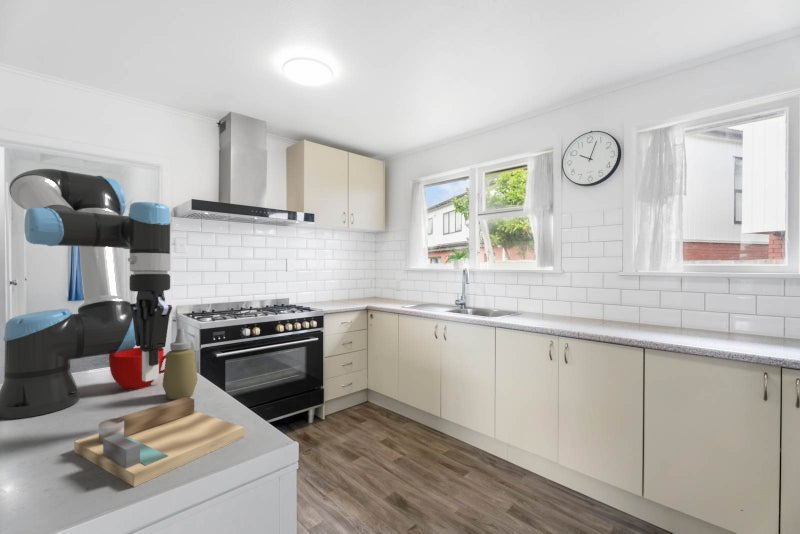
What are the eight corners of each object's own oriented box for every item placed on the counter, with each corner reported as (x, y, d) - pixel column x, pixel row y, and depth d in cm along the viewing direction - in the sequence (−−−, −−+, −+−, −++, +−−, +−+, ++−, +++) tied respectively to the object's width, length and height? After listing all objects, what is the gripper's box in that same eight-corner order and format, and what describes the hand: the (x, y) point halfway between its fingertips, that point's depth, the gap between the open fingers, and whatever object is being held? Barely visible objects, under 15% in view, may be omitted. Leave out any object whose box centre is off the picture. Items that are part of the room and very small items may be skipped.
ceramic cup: (171, 390, 105) (171, 354, 105) (99, 395, 100) (99, 358, 100) (183, 376, 117) (183, 345, 117) (120, 381, 112) (120, 348, 112)
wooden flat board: (74, 451, 70) (74, 425, 70) (181, 415, 87) (182, 393, 87) (134, 486, 59) (134, 455, 59) (243, 437, 76) (244, 412, 76)
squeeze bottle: (181, 403, 95) (182, 332, 95) (154, 400, 96) (155, 330, 96) (204, 392, 103) (204, 327, 103) (179, 390, 104) (179, 326, 104)
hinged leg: (104, 444, 68) (104, 428, 68) (94, 439, 70) (94, 423, 70) (195, 413, 83) (195, 399, 83) (185, 409, 85) (185, 396, 85)
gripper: (116, 273, 83) (116, 379, 83) (147, 273, 76) (147, 388, 76) (152, 273, 89) (152, 371, 89) (184, 272, 83) (184, 379, 83)
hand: (150, 379), depth 83 cm, fingers closed
